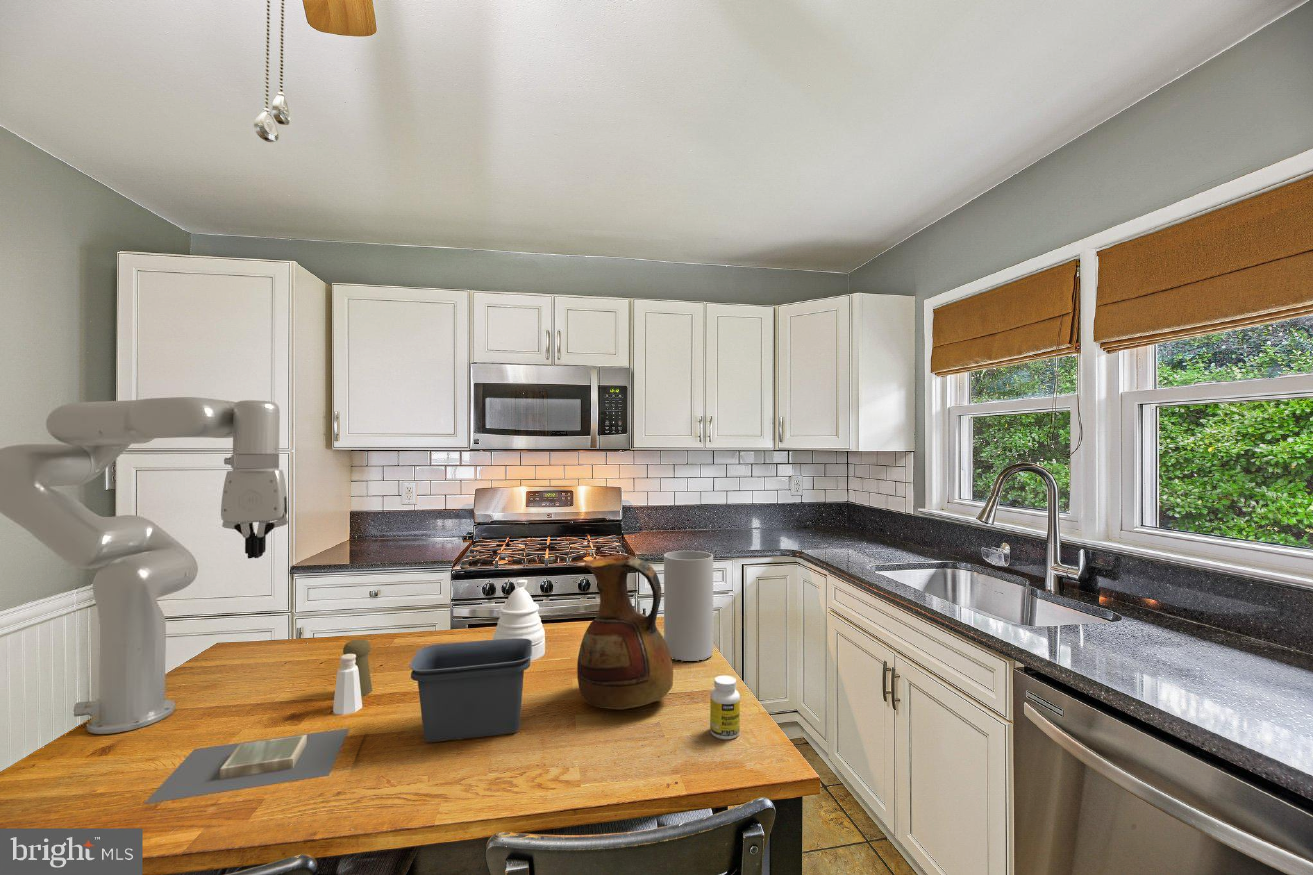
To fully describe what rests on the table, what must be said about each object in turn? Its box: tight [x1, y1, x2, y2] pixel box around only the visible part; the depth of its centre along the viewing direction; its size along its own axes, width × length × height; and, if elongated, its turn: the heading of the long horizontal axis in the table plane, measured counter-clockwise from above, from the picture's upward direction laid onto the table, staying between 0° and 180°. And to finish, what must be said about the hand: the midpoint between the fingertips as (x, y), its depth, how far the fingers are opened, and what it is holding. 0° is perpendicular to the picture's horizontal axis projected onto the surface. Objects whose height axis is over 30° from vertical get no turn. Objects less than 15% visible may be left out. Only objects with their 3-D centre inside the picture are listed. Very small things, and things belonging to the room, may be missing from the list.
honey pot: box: [492, 579, 546, 662], centre depth 146 cm, size 13×13×18 cm
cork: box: [342, 638, 373, 698], centre depth 123 cm, size 6×6×11 cm
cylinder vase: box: [663, 550, 714, 662], centre depth 146 cm, size 12×12×25 cm
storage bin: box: [408, 638, 532, 743], centre depth 108 cm, size 21×16×14 cm
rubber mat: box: [143, 727, 350, 805], centre depth 95 cm, size 24×16×1 cm, turn 108°
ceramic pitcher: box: [576, 554, 674, 710], centre depth 119 cm, size 20×20×30 cm
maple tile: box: [220, 734, 307, 779], centre depth 95 cm, size 2×8×10 cm
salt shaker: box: [332, 654, 363, 716], centre depth 114 cm, size 5×5×11 cm
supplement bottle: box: [709, 675, 741, 740], centre depth 105 cm, size 5×5×10 cm
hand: (255, 556), depth 112 cm, fingers closed
